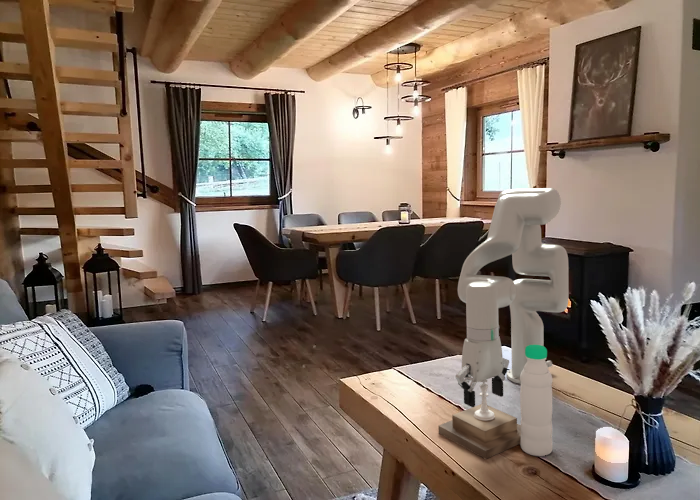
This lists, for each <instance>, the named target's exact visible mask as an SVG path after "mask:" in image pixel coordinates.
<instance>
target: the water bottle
mask: <svg viewBox="0 0 700 500" xmlns="http://www.w3.org/2000/svg"><path fill="white" fill-rule="evenodd" d="M525 355H526V358H527V363H526V364H525V366H524V369H523V370H522V372H521V374H520V381H521V384H520V391H519V392H520V395H519V396H520V399H519V401H520V403H519V404H520V408H519V409H520V419H521V420H520V425H521V443H520V448H521V449H522V451H523V452H525V453H526V454H527V455H531V456H534V457H545V455H546V456H548V455H550V454H551V453H552V452H553V437H552V436H553V423H552V421H553V420H552V419H553V389H552V388H553V387H552V384H553V375H552V373H551V372H550V370H549V367H547V365H546V363H545V362H546V360H547V357H548V349H547V348H546V347H545V346H544V345H543V346H541V345H528V346H527V347H526V348H525Z"/></svg>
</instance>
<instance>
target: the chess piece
mask: <svg viewBox="0 0 700 500" xmlns="http://www.w3.org/2000/svg"><path fill="white" fill-rule="evenodd" d="M479 383H480V384H479V388H480V390H481V392H480V393H479V396H480V397H481V408H480V410H477V411H475V414H474V416H475V418H477V419H479V420H484V421H488V420H492V419H494V418H495V416H494V412H492V411H490V410H489V409H488V407H487V405H488V402H487V397H489V393H488V392H487V391H488V389H489V384H488V379H487V380H484V381H480V382H479Z"/></svg>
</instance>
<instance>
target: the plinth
mask: <svg viewBox="0 0 700 500" xmlns="http://www.w3.org/2000/svg"><path fill="white" fill-rule="evenodd" d="M487 407H488V409H489V410H490V411H492V412H494V416H495V418H494V419H492V420H488V421H484V420H479V419H477V418H475V416H474V414H475V411H477V410H480V408H481V404H478V405H475V407H470V408H467V409H465V410H462V411H459V412H457V413H453V414H452V416H451V417H452V419H451V420H449V421H447V422H443V423H442V424H438V426H437V427H438V428H437V429H438V434H440V435H441V436H444V437H445V438H447V439H449V440H450V441H452V442H454V443H456V444H458V445H460V446H462V447H463V448H465V449H467V450H468V451H471V452H472V453H474V454H476V455H477V456H479V457H482V458H483V459H484V460H487V459H490V458H491V457H493V456H496V455H498V454H500V453H504V452H505V451H507V450H509V449H511V448H514V447H516V446H518V445H521V424H519V423H518V418H517V417H515V416H513V415H511V414H509V413H507V412H504V411H502V410H499V409H497V408H495V407H492V406H491V405H488V404H487Z"/></svg>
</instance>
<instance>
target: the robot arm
mask: <svg viewBox="0 0 700 500" xmlns="http://www.w3.org/2000/svg"><path fill="white" fill-rule="evenodd" d="M561 200H562V199H561V195H560V193H559V192H558V190H557V189H555V188H552V187H543V188H541V187H540V188H537V187H536V188H514V189H513V188H512V189H505V190H503V191H501V192H500V193H499V195H498V196H497V201H496V203H495V206H494V209H493V214H492V217H491V221H490V225H489V230H488V234H487V238H486V239H485V241H483V242H481V244H479V245H478V246H476V247H475V249H473V250H472V251H471V252H470V253H469V255H467V257H466V259H465V260H464V262H463V264H462V267H461V272H460V274H459V275H460V276H459V279H458V282H457V283H458V284H457V296H458V297H459V300H460V301H462V302H463V303H465V305H466V307H465V308H466V309H465V310H466V311H465V313H466V316H465V317H466V319H465V320H466V338H465V339H464V341H463V345H462V353H461V369H460V370H459V371H458V372H457V373H456V375H455V379H456V381H457V383H458V384H457V385H459V386H460V387H461V389H463V403H464V405H467V406H469V407H470V408H472V407H475V406H476V391H475V390H474V388H475V387H476V384H477V383H481V382H480V381H484V380H487V381H488V380H489V379H491V393H492V394H493V395H496V396H498V397H501V398H502V397H503V396H504V381H505V379H506V378H507V379H508V380H509V381H511V382H513V383H516V384H519V385H521V381H520V374H521V372H522V370H523V369H524V366H525V364H526V363H527V358H526V355H525V348H526V347H527V346H528V345H541V346H544V323H543V320H542V318H541V316H539V314H538V312H544V313H546V312H547V313H562V312H565V311H566V309H567V308H568V305H569V257H568V252H567V250H566V248H564V246H561V245H560V244H543V242H542V227H541V226H543V225H546V224H549V223H550V222H551V221H553V219H555V218H556V217H557V215H558V214H559V212H560V210H561V204H562V203H561V202H562V201H561ZM508 256H512V257H511V258H512V260H511V261H512V268H513V271H514V272H515V273H516V274H519V275H524V276H533V277H535V276H536V277H537V276H538V277H549V278H550V279H536V278H535V279H533V278H518V279H515V280H513V279H512V278H509V277H506V276H501V275H500V276H496V275H483V274H481V275H480V274H478V272H479V271H480V270H481V269H482V268H483V267H484V266H486V265H488V264H490V263H492V262H495V261H497V260H501V259H503V258H506V257H508ZM508 306H509V311H510V322H511V323H510V327H511V328H510V331H511V332H510V335H511V337H510V338H511V339H510V340H511V369H509V370H508V367H509V364H510V359H507V358H504V357H503V348H502V347H503V346H502V343H501V338H500V336H499V335H500V333H499V331H500V325H499V309H501V308H505V307H508ZM545 363H546V365H547V367H548V368H550V367H552V366H553V361H552V360H547V361H546V360H545ZM469 383H470V384H469Z"/></svg>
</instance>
